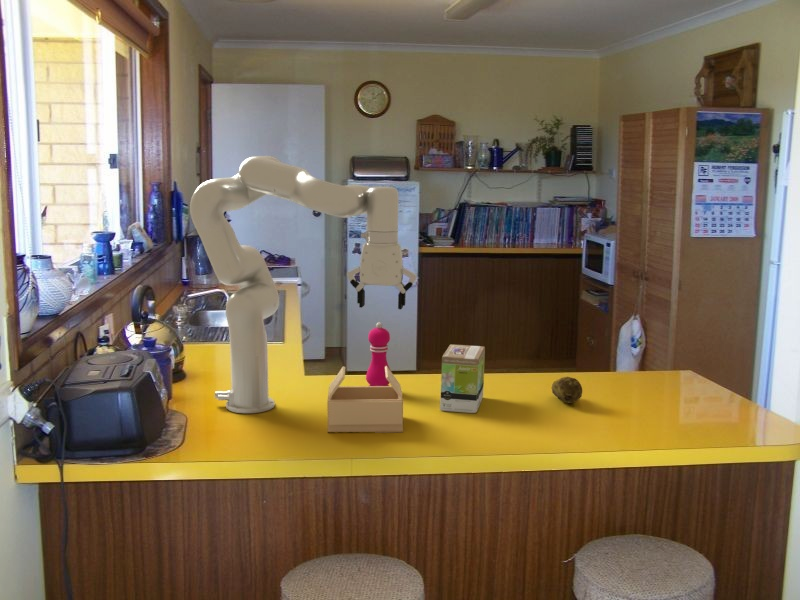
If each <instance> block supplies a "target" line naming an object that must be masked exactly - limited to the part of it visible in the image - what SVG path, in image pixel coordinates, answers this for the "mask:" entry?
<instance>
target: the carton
mask: <svg viewBox="0 0 800 600" xmlns="http://www.w3.org/2000/svg"><path fill="white" fill-rule="evenodd" d="M401 392H403V391H402V390H401ZM328 395H329V391H328V393H327V402H326V403H327V407H326V409H327V433H328V432H375V433H403V432H404V398H403V396H402V397H399V395H398V394H397V393H396V391H395V390H394V388H393V387H392V386H391V385H389V386H369V385H365V386H362V385H360V386H359V385H357V386H356V385H355V386H353V385H352V386H351V385H350V386H348V385H347V386H346V385H345V386H340V385H339V387H338V388H337V390H336V391H335V392H334V394H333V395H332V397H331V398H329V397H328Z"/></svg>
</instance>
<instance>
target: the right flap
mask: <svg viewBox="0 0 800 600" xmlns="http://www.w3.org/2000/svg"><path fill="white" fill-rule="evenodd" d="M389 368H390V367H389ZM389 368H388V367H387V366H386V367H385V374H386V379H387V380H388V382H389V385H390V386H392V387H393V388H394V390H395V391H396V393H397V394H398V395H399V397H403V393H402V392H403V391H402V387H401V383H400V382H399V381H398V379H397V378H396V376H394V374H393V372H392V371H390V370H391V369H390V370H389ZM401 391H402V392H401Z"/></svg>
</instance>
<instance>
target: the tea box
mask: <svg viewBox="0 0 800 600" xmlns="http://www.w3.org/2000/svg"><path fill="white" fill-rule="evenodd" d="M485 355H486V347H485V346H482V345H481V346H480V345H468V344H466V345H465V344H449V346H448V347H447V349H446V350H445V352H444V353H443V355H442V357H441V377H440V381H441V384H440V400H439V403H440V404H439V411H444V412H453V413H454V412H456V413H468V414H469V413H470V414H476V413H477V412H478V410H479V407H480V404H481V403H482V400H483V398H484V384H485V383H484V382H485V380H484V379H485V361H486V360H485V358H486V356H485Z"/></svg>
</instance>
